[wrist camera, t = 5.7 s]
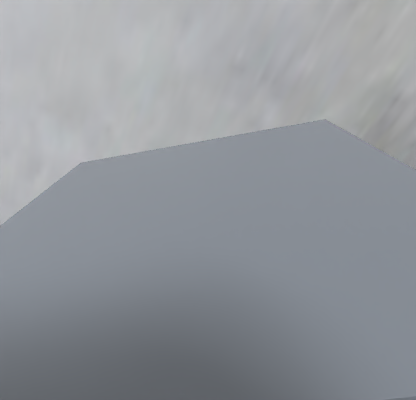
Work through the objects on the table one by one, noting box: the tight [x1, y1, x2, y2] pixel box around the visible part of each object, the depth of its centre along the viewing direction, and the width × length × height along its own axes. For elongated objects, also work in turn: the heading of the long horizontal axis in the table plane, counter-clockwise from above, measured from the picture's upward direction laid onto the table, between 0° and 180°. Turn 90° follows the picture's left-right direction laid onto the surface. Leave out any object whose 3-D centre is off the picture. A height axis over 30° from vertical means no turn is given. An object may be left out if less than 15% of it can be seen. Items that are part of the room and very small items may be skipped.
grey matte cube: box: [0, 119, 416, 400], centre depth 8 cm, size 8×8×9 cm
